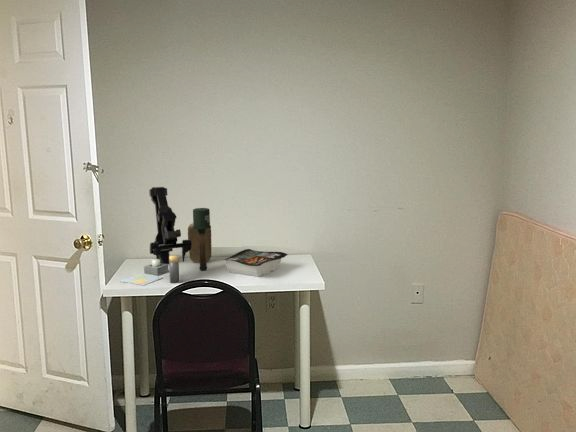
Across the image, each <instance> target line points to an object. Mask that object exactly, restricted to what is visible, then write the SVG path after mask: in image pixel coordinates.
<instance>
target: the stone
mask: <svg viewBox="0 0 576 432" xmlns="http://www.w3.org/2000/svg"><path fill="white" fill-rule="evenodd" d="M205 231H206V233H205V236H206V240H205V252H206V262H207V263H209V262H210V261H211V258H212V227H211V228H209V229H206V230H205ZM189 239H190V240H191V241H192V247H191V250H190V251H188V255H189V259H190V261H192V262H195V263H200V242H199V232H198V229H193V222H192V223H190V224H189V225H188V228H187V240H189Z"/></svg>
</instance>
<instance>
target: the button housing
mask: <svg viewBox="0 0 576 432" xmlns="http://www.w3.org/2000/svg"><path fill="white" fill-rule="evenodd" d="M143 270H144V271H143V273H144V274H143V275H150V276H156V277H159V276H160V275H163V274H165V273H166V274H167V273H168V272H169V264H162V263H160V266H159V267H152V263H150V264H147V265H144V266H143Z"/></svg>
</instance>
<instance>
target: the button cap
mask: <svg viewBox="0 0 576 432" xmlns="http://www.w3.org/2000/svg"><path fill="white" fill-rule="evenodd" d="M151 264H152V267H159V266H160V259H156V258H152V259H151Z"/></svg>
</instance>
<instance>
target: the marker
mask: <svg viewBox="0 0 576 432" xmlns="http://www.w3.org/2000/svg"><path fill="white" fill-rule="evenodd" d="M179 266H180V263H179V255H175V254H173V255H170V256H169V264H168V271H169V283H171V284H179V283H180V281H181V280H180V267H179Z"/></svg>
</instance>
